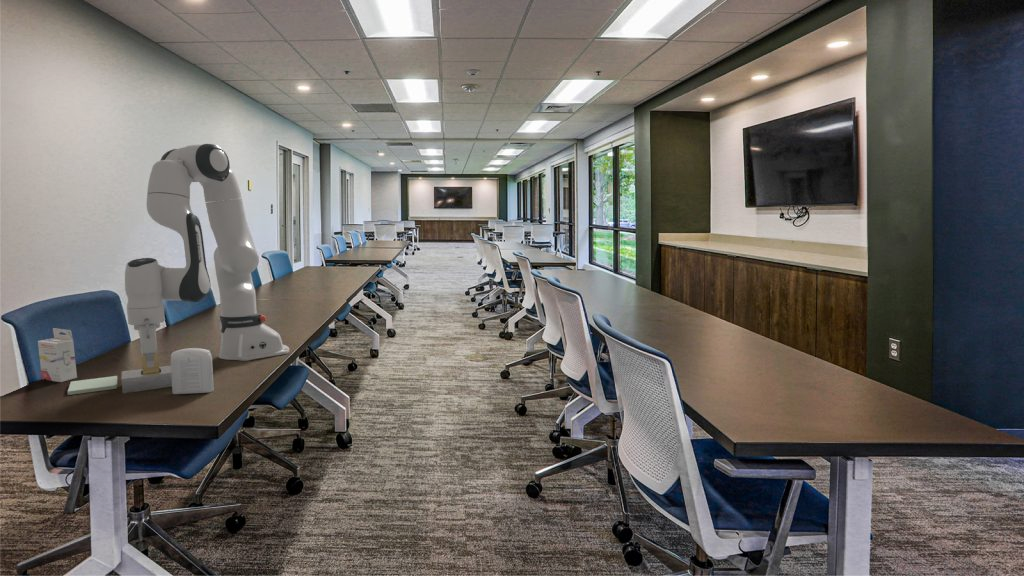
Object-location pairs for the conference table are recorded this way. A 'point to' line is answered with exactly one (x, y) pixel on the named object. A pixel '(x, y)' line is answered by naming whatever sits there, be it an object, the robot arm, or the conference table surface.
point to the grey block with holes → (146, 380)
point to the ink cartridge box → (58, 357)
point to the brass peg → (150, 369)
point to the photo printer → (191, 371)
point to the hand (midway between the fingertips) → (150, 364)
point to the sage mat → (92, 385)
